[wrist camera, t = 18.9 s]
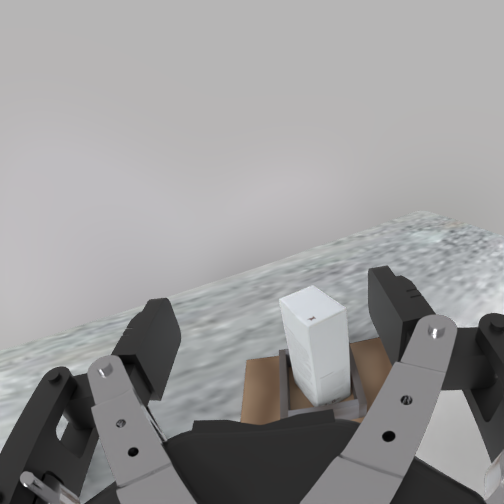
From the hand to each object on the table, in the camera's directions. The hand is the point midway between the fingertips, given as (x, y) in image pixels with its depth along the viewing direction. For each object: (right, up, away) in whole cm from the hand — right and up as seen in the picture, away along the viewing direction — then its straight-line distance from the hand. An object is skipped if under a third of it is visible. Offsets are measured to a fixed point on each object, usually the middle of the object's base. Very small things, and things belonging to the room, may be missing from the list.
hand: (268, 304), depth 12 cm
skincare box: (+7, -14, +20) cm, 26 cm away
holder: (+7, -15, +21) cm, 27 cm away
